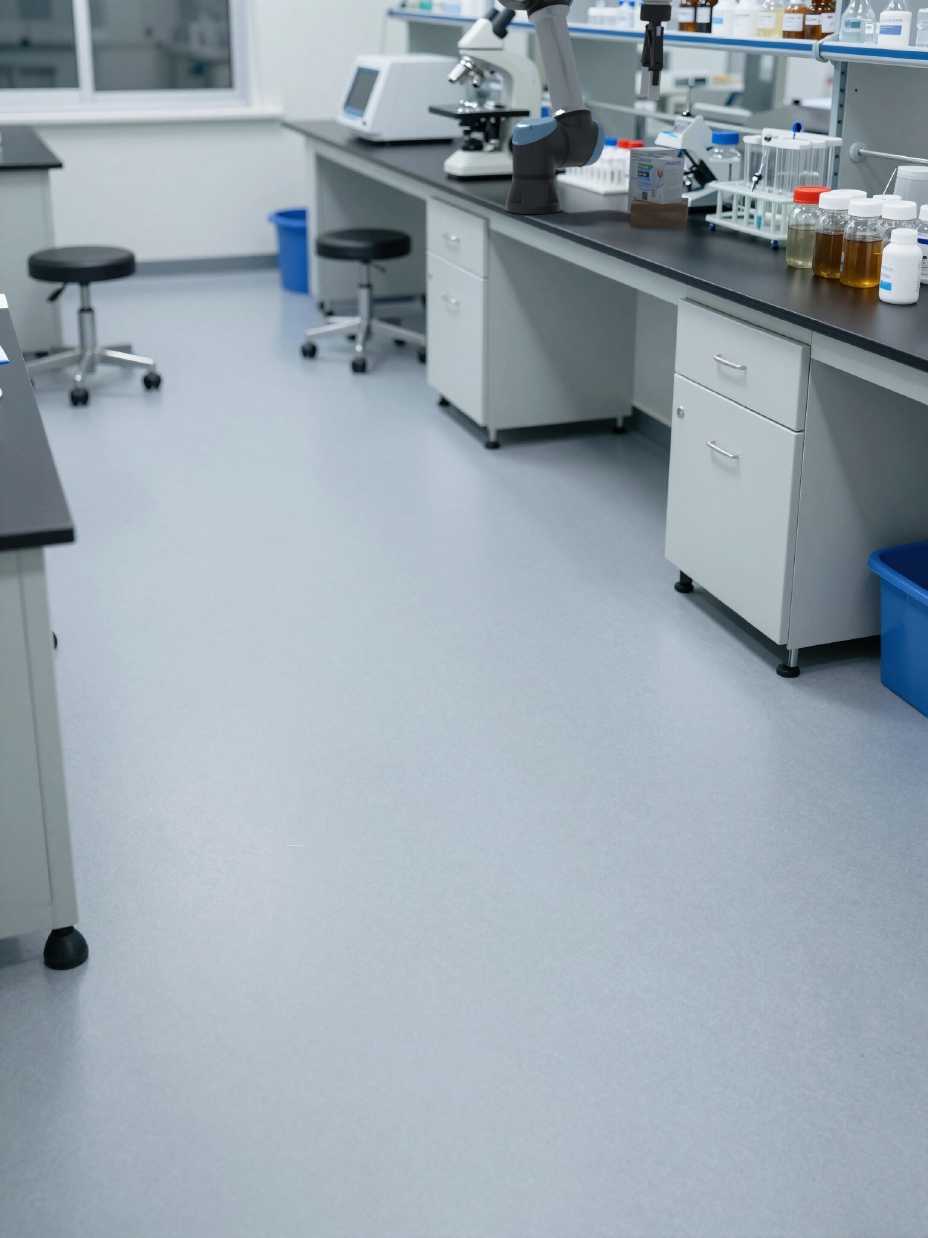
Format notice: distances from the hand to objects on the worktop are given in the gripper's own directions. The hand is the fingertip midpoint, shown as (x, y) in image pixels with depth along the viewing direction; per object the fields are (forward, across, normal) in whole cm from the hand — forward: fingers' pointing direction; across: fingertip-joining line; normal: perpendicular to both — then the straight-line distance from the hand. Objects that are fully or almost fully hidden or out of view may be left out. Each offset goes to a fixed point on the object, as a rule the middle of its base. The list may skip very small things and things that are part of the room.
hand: (649, 97), depth 318 cm
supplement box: (+30, -10, +4) cm, 32 cm away
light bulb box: (+24, +5, +4) cm, 25 cm away
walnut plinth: (+30, +5, +4) cm, 31 cm away
